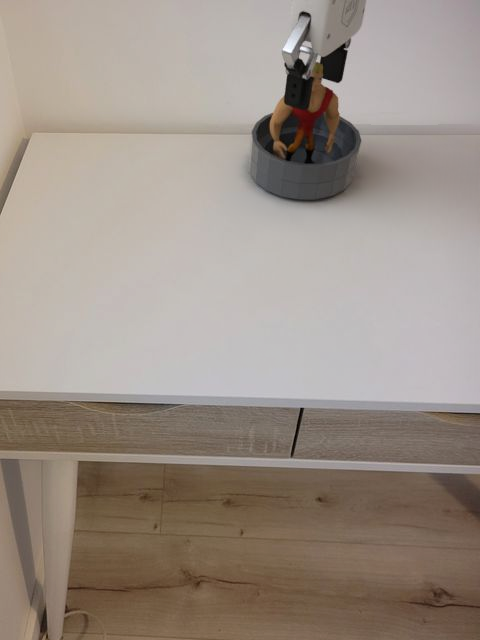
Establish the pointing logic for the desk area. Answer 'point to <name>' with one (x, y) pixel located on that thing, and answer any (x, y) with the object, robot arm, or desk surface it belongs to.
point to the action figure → (307, 118)
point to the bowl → (295, 175)
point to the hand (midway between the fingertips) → (313, 91)
